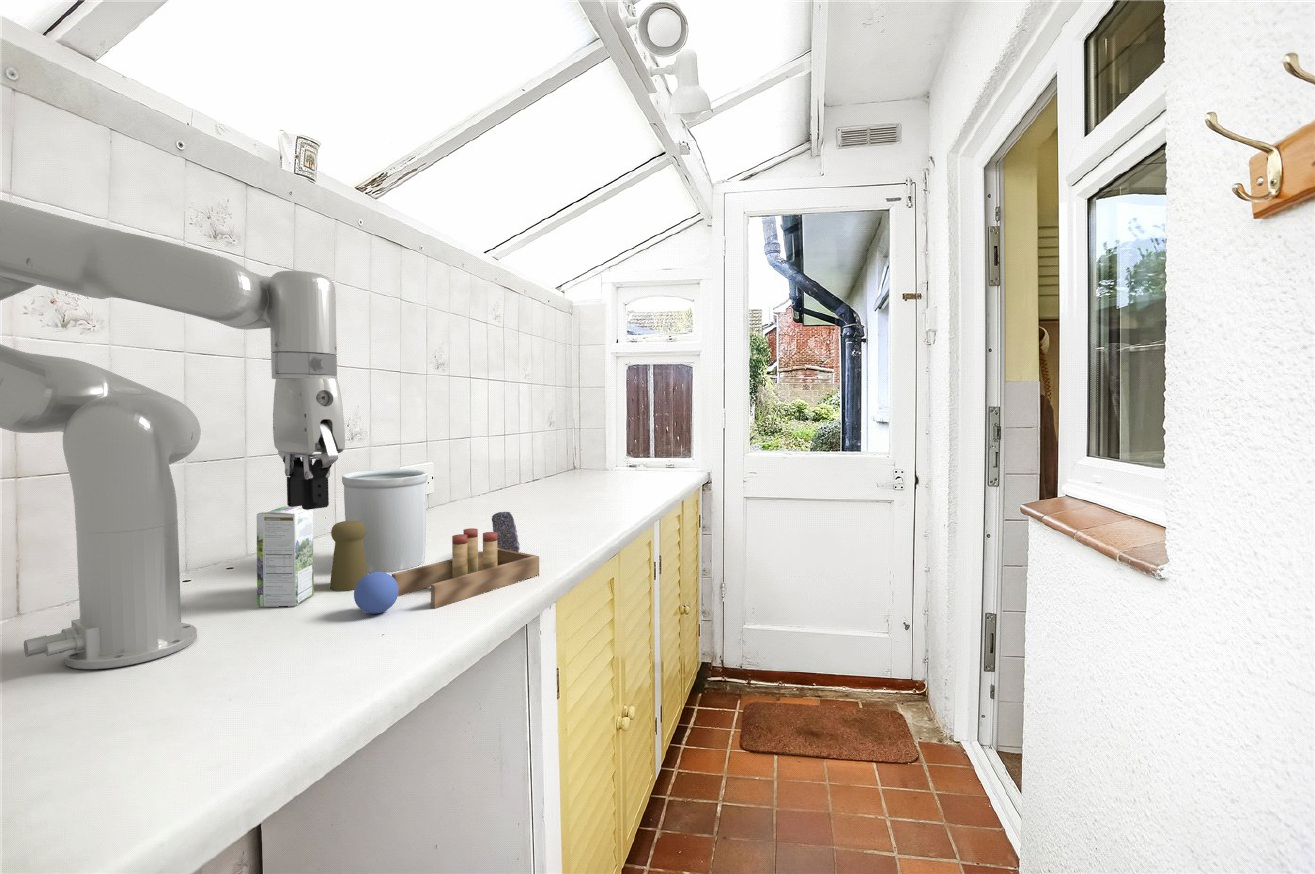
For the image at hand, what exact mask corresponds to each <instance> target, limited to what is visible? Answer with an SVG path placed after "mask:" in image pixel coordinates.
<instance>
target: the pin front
mask: <svg viewBox="0 0 1315 874" xmlns="http://www.w3.org/2000/svg"><path fill="white" fill-rule="evenodd" d="M451 539H452V540H451V541H452V542H451V543H452V544H451V546H452V547H451V548H452V549H451V550H452V551H451V554H452V555H451V557H452V558H451V559H452V565H453V578H456V577H460V576H463V575H467V574H468V561H467V535H465V534H462V533H461V534H460V533H459V534H454V535H452V536H451Z"/></svg>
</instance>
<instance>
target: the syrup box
mask: <svg viewBox="0 0 1315 874" xmlns="http://www.w3.org/2000/svg"><path fill="white" fill-rule="evenodd" d="M256 594H257V595H256V601H257V602H256V606H257V607H258V608H280V607H279V606H288V607H297V606H298V605H300V604H302V603H303V602H305V601H306V600H308V599H309V598H311V597H313V596H314V509H310V510H304V509H303V508H302V506H296V507H289V506H288V505H286V506H279V507H278V506H277V507H274V508H271V509H268V510H265V511H262V512H261V511H260V512H258V513H256Z"/></svg>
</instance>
